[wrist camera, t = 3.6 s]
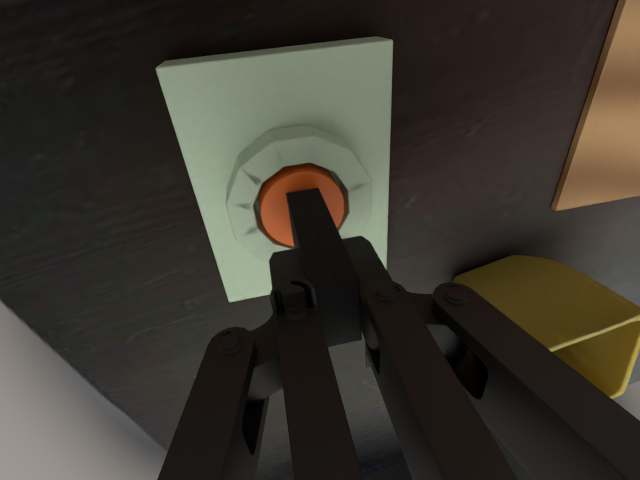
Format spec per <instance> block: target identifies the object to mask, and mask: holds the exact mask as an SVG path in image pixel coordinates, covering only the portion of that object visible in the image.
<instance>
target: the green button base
mask: <svg viewBox="0 0 640 480" xmlns="http://www.w3.org/2000/svg"><path fill="white" fill-rule="evenodd" d="M392 60H393V40H391V39H387V38H382V37H377V36H374V37H365V38H357V39H348V40H340V41H331V42H322V43H314V44H305V45H297V46H288V47H279V48H271V49H262V50H254V51H245V52H236V53H228V54H219V55H211V56H202V57H193V58H185V59H176V60H168V61H164V62H163V63H162V64H160V65H159V66H158V67H156V72H157V75H158V78H159V82H160V85H161V88H162V91H163V94H164V97H165V101H166V104H167V107H168V110H169V113H170V116H171V120H172V123H173V126H174V129H175V132H176V135H177V139H178V142H179V145H180V148H181V151H182V154H183V158H184V161H185V164H186V167H187V170H188V173H189V177H190V180H191V183H192V186H193V189H194V192H195V196H196V199H197V202H198V205H199V208H200V211H201V215H202V218H203V221H204V224H205V227H206V230H207V234H208V237H209V240H210V243H211V246H212V249H213V253H214V256H215V259H216V262H217V265H218V268H219V272H220V275H221V278H222V281H223V284H224V287H225V291H226V294H227V297H228V300H229V302H233V301H238V300H244V299H249V298H254V297H259V296H264V295H269V294H271V290H272V283H271V275H270V267H269V260H270V258H271V256H272V254H273V252H278V251H283V250H289V249H294V248H295V247H294V246H289V245H286V244H283V243H281V242H279V241H277V240H276V239H274V238H273V237H272V236H271V235H270V234H269V233H268V232H267V231H266V229H265V227H264V225H263V223H262V219H261V213H260V204H259V190H260V188H261V185H262V183H263V182H264V181H266V180H267V179H268V178H270V177H271V176H272V175H274V174H275V173H276V172H277V171H279V170H280V169H281V168H283V167H284V166H291V165H297V164H304V163H313V164H315V165H318V166H321V167H323V168H326V169H327V170H328V171H329V172H330V173H331V175H332V176H333V178H334V180H335V182H336V183H337V185H338V187H339V189H340V191H341V193H342V195H343V199H344V214H343V217H342V220H341V222H340V224H339V226H338V227H337V229H338V232H339V234H340V236H341V238H342V239H345V238H350V237H356V236H363V237H364V238H366V239H367V240H369V241H370V242H371V244H372V246H373V247H374V249H375V251H376V253H377V254H378V256H379V258H380V260H381V262H382V263H383V265H384V267H385V269H386V267H387V232H388V198H389V163H390V129H391V94H392Z"/></svg>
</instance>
